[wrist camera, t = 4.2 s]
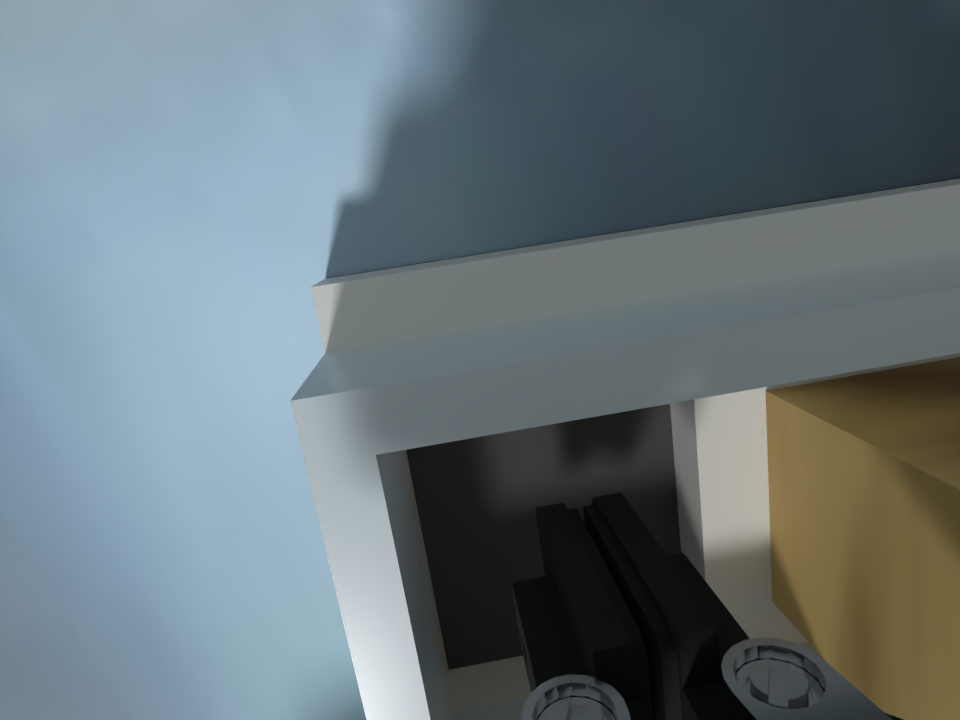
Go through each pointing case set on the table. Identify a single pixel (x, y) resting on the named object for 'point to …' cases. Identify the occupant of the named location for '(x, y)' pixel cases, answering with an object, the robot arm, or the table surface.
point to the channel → (589, 414)
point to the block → (872, 529)
